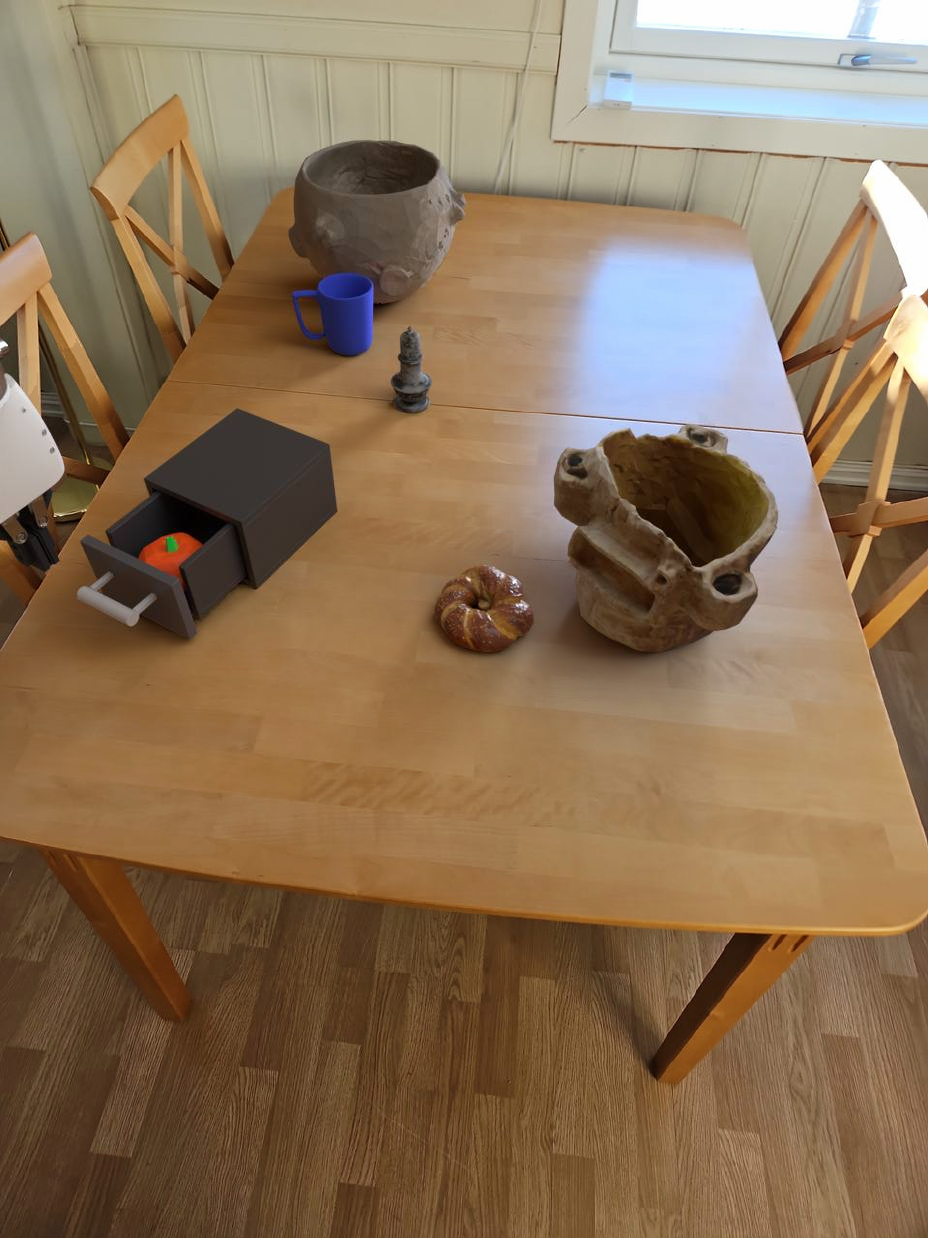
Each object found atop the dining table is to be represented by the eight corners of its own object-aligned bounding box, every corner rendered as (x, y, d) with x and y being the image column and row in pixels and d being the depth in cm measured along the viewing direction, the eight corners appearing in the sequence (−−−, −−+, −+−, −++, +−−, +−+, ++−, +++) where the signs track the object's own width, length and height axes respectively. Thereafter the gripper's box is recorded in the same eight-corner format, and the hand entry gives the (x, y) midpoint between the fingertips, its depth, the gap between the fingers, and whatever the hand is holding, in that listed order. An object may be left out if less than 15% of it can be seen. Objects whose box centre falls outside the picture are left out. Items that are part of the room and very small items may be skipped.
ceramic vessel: (865, 568, 87) (836, 472, 66) (698, 726, 91) (622, 683, 71) (714, 452, 99) (649, 340, 78) (573, 596, 103) (477, 527, 83)
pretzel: (431, 579, 96) (431, 556, 93) (524, 576, 97) (527, 553, 94) (437, 659, 88) (437, 637, 85) (537, 655, 89) (541, 633, 86)
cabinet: (257, 589, 94) (241, 522, 86) (166, 546, 98) (143, 478, 91) (337, 511, 103) (329, 444, 95) (251, 474, 107) (237, 407, 100)
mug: (299, 334, 131) (291, 273, 123) (375, 332, 132) (372, 271, 124) (298, 362, 125) (290, 300, 118) (377, 359, 127) (374, 298, 119)
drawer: (161, 667, 85) (139, 614, 79) (74, 620, 89) (46, 565, 83) (276, 558, 96) (264, 503, 90) (193, 520, 100) (177, 465, 94)
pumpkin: (127, 586, 91) (111, 542, 86) (186, 550, 95) (174, 506, 90) (168, 617, 88) (154, 573, 83) (227, 578, 92) (217, 534, 87)
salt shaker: (437, 395, 121) (437, 319, 112) (423, 417, 117) (422, 340, 108) (400, 387, 122) (397, 311, 113) (385, 409, 118) (381, 332, 109)
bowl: (462, 332, 133) (466, 203, 118) (285, 326, 132) (266, 196, 117) (464, 255, 151) (467, 134, 136) (308, 250, 150) (294, 128, 135)
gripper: (-4, 324, 65) (75, 499, 79) (-182, 420, 57) (-58, 598, 71) (64, 350, 63) (132, 527, 77) (-111, 456, 54) (2, 632, 68)
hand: (41, 560), depth 74 cm, fingers closed
